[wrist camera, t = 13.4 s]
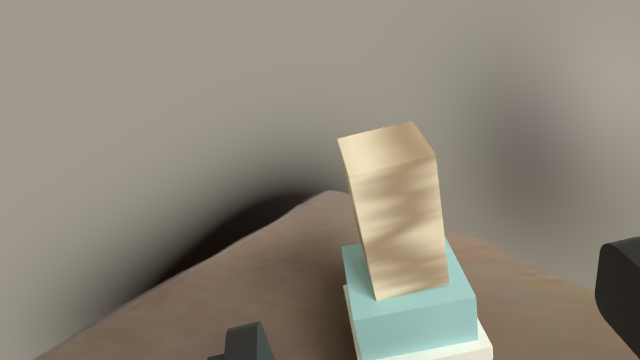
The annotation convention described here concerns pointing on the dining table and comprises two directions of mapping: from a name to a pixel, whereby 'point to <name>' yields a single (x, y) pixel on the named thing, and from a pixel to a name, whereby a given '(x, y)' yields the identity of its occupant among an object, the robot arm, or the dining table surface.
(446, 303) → the tower top
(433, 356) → the tower base
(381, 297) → the birch post
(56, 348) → the dining table surface
